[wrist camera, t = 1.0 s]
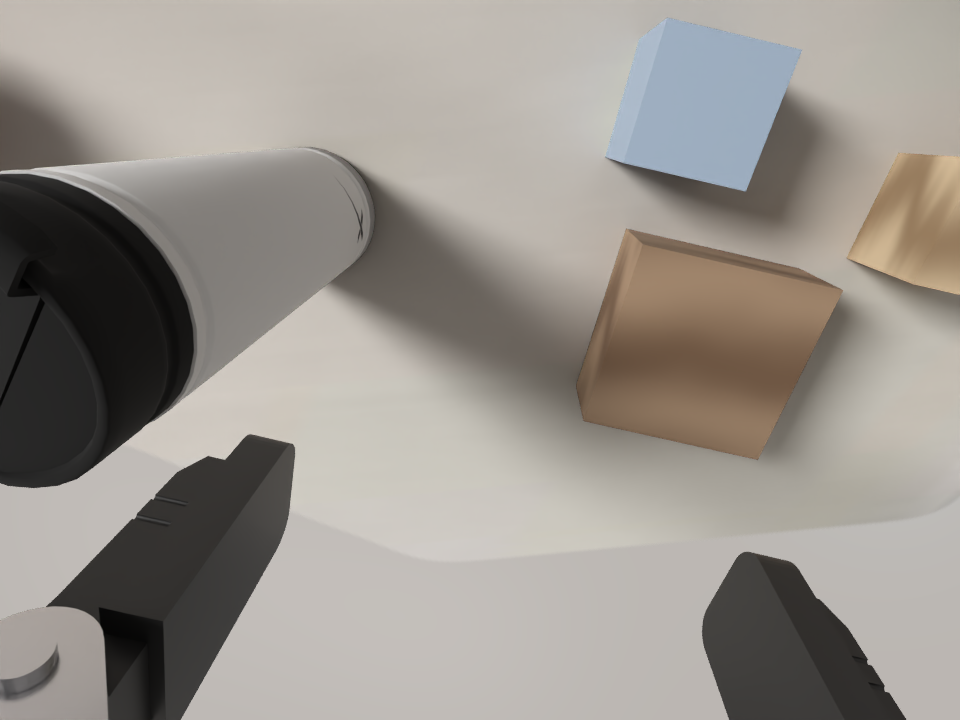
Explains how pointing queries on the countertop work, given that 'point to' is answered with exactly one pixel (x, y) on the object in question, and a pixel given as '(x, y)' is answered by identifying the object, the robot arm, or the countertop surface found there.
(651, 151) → the slate block
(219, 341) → the travel mug
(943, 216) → the oak block
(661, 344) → the walnut plinth
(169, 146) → the countertop surface
